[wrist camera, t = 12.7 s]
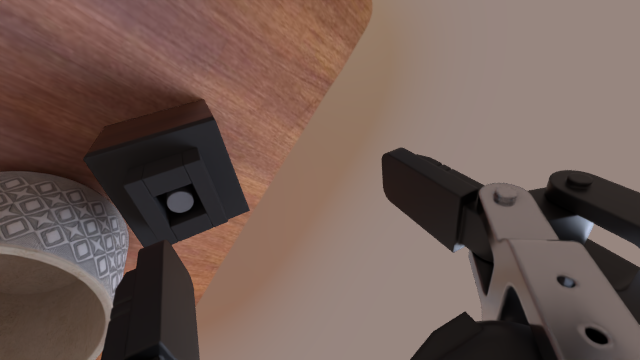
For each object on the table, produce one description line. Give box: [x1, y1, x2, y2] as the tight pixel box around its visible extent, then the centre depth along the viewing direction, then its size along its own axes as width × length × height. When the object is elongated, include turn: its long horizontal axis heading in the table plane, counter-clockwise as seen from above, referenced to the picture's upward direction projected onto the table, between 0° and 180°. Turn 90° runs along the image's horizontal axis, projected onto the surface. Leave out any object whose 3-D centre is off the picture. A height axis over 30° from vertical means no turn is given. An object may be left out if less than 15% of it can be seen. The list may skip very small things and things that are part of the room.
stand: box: [87, 99, 213, 153], centre depth 30 cm, size 10×10×8 cm
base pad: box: [83, 116, 249, 248], centre depth 25 cm, size 10×10×4 cm
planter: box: [0, 171, 129, 360], centre depth 25 cm, size 16×16×13 cm
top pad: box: [123, 148, 228, 245], centre depth 24 cm, size 6×6×3 cm
